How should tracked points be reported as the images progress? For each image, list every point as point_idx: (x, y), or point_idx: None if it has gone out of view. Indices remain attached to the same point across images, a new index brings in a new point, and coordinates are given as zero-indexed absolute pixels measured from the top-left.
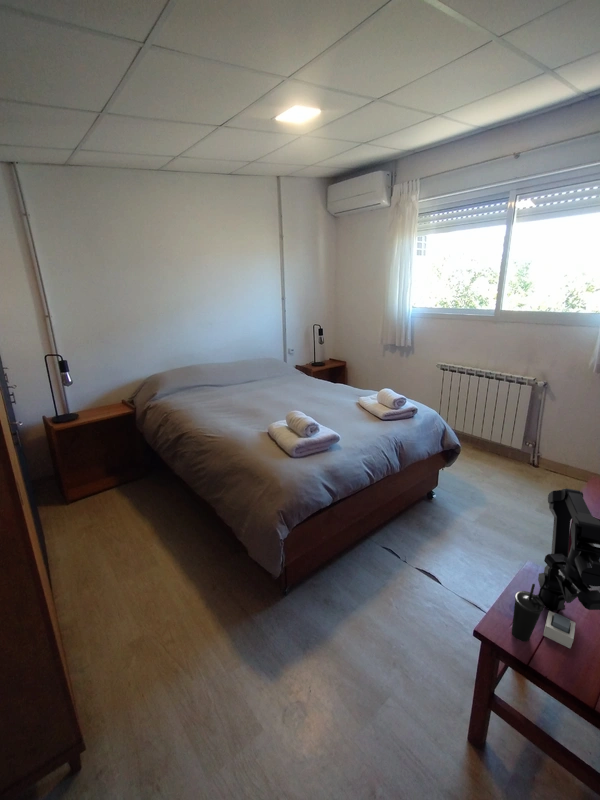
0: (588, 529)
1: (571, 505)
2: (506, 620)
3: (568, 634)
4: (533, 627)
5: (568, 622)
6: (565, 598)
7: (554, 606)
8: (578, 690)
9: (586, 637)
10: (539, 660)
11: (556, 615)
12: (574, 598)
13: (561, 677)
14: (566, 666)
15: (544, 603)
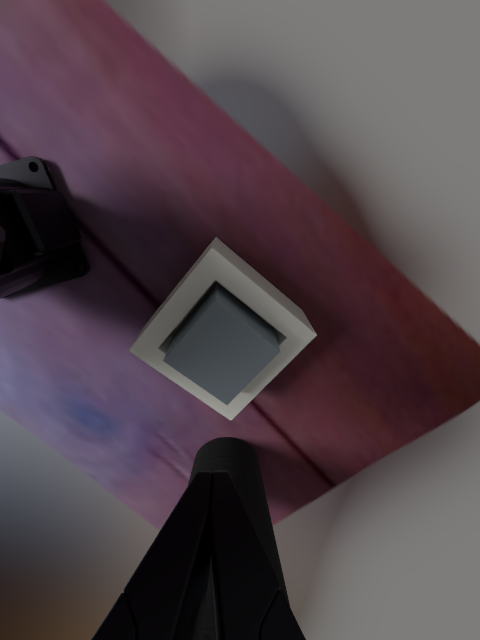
0: None
1: None
2: (160, 478)
3: (288, 344)
4: (271, 529)
5: (236, 326)
6: (210, 555)
7: (63, 251)
8: (458, 391)
9: (247, 178)
10: (333, 452)
11: (184, 365)
12: (262, 558)
13: (404, 418)
14: (370, 376)
15: (40, 279)
